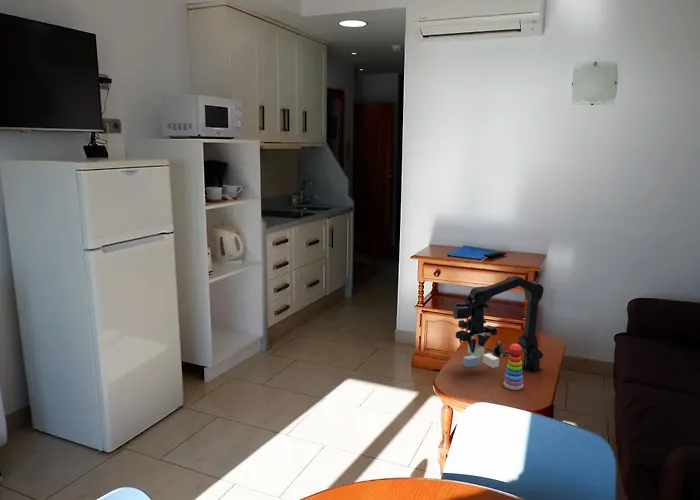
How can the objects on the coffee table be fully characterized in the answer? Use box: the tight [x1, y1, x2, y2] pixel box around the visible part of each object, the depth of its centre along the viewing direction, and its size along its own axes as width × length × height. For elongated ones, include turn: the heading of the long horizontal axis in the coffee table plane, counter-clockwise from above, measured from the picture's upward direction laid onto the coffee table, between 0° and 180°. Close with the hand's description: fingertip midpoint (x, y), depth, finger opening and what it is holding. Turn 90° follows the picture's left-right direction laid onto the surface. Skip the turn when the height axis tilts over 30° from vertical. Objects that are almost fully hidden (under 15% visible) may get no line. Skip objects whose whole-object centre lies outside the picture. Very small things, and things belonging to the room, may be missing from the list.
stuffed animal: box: [484, 341, 510, 359], centre depth 260 cm, size 12×10×12 cm
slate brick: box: [462, 354, 482, 368], centre depth 246 cm, size 7×4×4 cm, turn 114°
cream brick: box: [482, 352, 500, 369], centre depth 246 cm, size 7×4×4 cm, turn 25°
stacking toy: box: [503, 343, 524, 391], centre depth 222 cm, size 8×8×19 cm
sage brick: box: [467, 342, 486, 358], centre depth 236 cm, size 7×4×4 cm, turn 25°
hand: (475, 351), depth 236 cm, fingers closed on sage brick, 3 cm apart
